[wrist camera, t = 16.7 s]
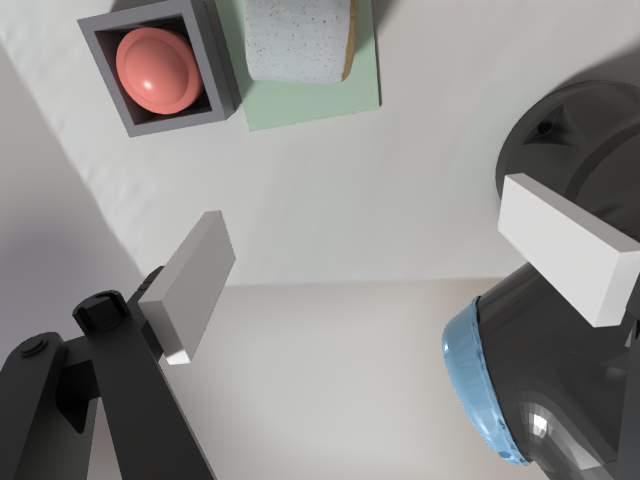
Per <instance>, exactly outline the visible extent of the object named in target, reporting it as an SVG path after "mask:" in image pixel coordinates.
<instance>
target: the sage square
mask: <svg viewBox="0 0 640 480" xmlns="http://www.w3.org/2000/svg"><path fill="white" fill-rule="evenodd" d="M215 3H216V7H217V11H218V15H219V18H220V22H221V26H222V29H223V33H224V37H225V41H226V44H227V48H228V52H229V55H230V59H231V63H232V67H233V70H234V74H235V78H236V82H237V85H238V89H239V93H240V96H241V100H242V104H243V108H244V111H245V115H246V119H247V122H248V126H249V130H250V132H251V131H257V130H262V129H268V128H274V127H279V126H285V125H290V124H296V123H301V122H307V121H312V120H318V119H324V118H329V117H335V116H340V115H346V114H351V113H357V112H363V111H368V110H374V109H379V95H378V82H377V69H376V55H375V42H374V29H373V15H372V2H371V0H359V22H358V34H357V41H356V47H355V54H354V59H353V64H352V68H351V71H350V74H349V76H348V77H347V78H346V79H345V80H344V81H342V82H340V83H332V84H313V83H299V82H278V81H263V80H253V79H252V78H251V76H250V74H249V71H248V65H247V60H246V48H245V24H244V0H215Z"/></svg>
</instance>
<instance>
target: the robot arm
mask: <svg viewBox="0 0 640 480" xmlns="http://www.w3.org/2000/svg"><path fill="white" fill-rule="evenodd" d="M496 187H497V191H498V194H499V196H500V198H501V200H502V201H501V209H500V216H499V223H498V230H499V231H500V232H501V234H502V235H503V236H504V237H505V238H506V239H507V240H508V241H509V242H510V243H511V244H512V245H513V246H514V247H515V248H516V249H517V250H518V251H519V252H520V253H521V254H522V255H523V256H524V257H525V258H526V259H527V260H528V261H529V262H527V263H526V264H525V265H523V266H522V267H520V268H519V269H518V270H516V271H515V272H514V273H512V274H511V275H509V276H508V277H507V278H505V279H504V280H503V281H501V282H500V283H498V284H497V285H496V286H494V287H493V288H491V289H490V290H489V291H487V292H486V293H485V294H483V295H482V296H477V297H475V298H474V299H473V300H472V303H471V304H470V305H469V306H467V307H466V308H465V309H464V310H463V311H461V312H460V313H459V314H458V315H456V316H455V317H454V318H453V319H451V320H450V321H449V323H448V324H447V325H446V327H445V329H444V332H443V337H442V350H443V355H444V359H445V364H446V368H447V371H448V374H449V377H450V380H451V382H452V384H453V387H454V389H455V391H456V393H457V396H458V398H459V400H460V402H461V404H462V406H463V407H464V409H465V411H466V413H467V415H468V416H469V418H470V419H471V421H472V423H473V424H474V426H475V428H476V429H477V430H478V432H479V433H480V435H481V436H482V437H483V439H484V440H485V441H486V442H487V444H488V445H489V446H490V447H491V448H492V449H493V450H494V451H497V452H498V453H499V455H500V457H501V458H502V459H504V460H505V461H507V462H508V463H510V464H513V465H520V464H522V465H525V466H527V465H529V464H531V462H533V460H534V461H535V462H537V464H538V465H539V466H540V467H541V469H542V470H543V471H544V473H545V474H546V475H547V477H548V478H549V479H550V480H640V88H639V87H636V86H634V85H630V84H626V83H619V82H611V81H600V80H596V81H586V82H581V83H577V84H574V85H571V86H568V87H565V88H563V89H561V90H559V91H557V92H555V93H553V94H551V95H549V96H548V97H546V98H545V99H543V100H542V101H540V102H539V103H538V104H536V105H535V106H534V107H533V108H532V109H530V110H529V111H528V112H527V113H526V114H525V115H524V116H523V117H522V118H521V120H520V121H519V122H518V123H517V124H516V126H515V127H514V128H513V130H512V131H511V132H510V134H509V136H508V137H507V139H506V141H505V143H504V145H503V147H502V149H501V152H500V155H499V158H498V162H497V166H496ZM235 259H236V258H235V255H234V251H233V248H232V245H231V242H230V238H229V235H228V232H227V229H226V225H225V222H224V219H223V216H222V212H221V210H218V211H210V212H205V213H204V214H203V216H202V217H201V218H200V220H199V221H198V223H197V224H196V225H195V227H194V228H193V229H192V231H191V232H190V233H189V235H188V236H187V237H186V239H185V240H184V241H183V243H182V244H181V245H180V247H179V248H178V249H177V251H176V252H175V253H174V255H173V256H172V257H171V259H170V260H169V261H168V263H167V264H166V265H165V266H160V267H158V268H157V269H156V270H154V271H153V272H152V273H150V274H149V275H148V277H147V278H146V279H145V280H144V282H143V284H141V285H140V287H139V288H138V289H137V291H136V292H135V293H134V294H133V296H132V297H131V298H130V299H129V301H128V302H127V303H126V302H125V301H124V298H123V297H122V295H121V293H120V292H118V291H115V290H109V291H103V292H100V293H97V294H95V295H93V296H91V297H89V298H87V299H85V300H84V301H82V302H81V303H80V304H79V305H77V307H76V308H75V309H74V310H73V314H72V316H73V317H74V319H75V320H76V322H77V323H78V325H79V326H80V328H81V329H82V331H83V332H84V334H85V336H81V337H78V338H75V339H72V340H68V341H65V342H64V341H63V339H62V338H61V336H60V335H59V334H58V333H56V332H46V333H43V334H39V335H37V336H34V337H31V338H29V339H27V340H26V341H24V342H22V343H21V344H20V345H19V346H18V347H16V348H15V349H14V350H13V351H12V352H11V354H10V355H9V356H8V358H7V359H6V362H5V364H4V366H3V368H2V370H1V372H0V480H86V479H87V473H88V465H89V459H90V451H91V445H92V437H93V430H94V424H95V417H96V410H97V402H98V397H101V398H102V402H103V405H104V409H105V413H106V417H107V421H108V425H109V429H110V433H111V436H112V440H113V445H114V449H115V452H116V456H117V460H118V464H119V468H120V472H121V476H122V480H217V478H216V476H215V474H214V472H213V470H212V468H211V466H210V464H209V462H208V460H207V458H206V456H205V454H204V452H203V450H202V448H201V446H200V444H199V442H198V440H197V438H196V436H195V434H194V432H193V431H192V428H191V427H190V425H189V423H188V421H187V419H186V417H185V415H184V413H183V411H182V409H181V407H180V405H179V403H178V401H177V399H176V397H175V395H174V393H173V391H172V389H171V387H170V385H169V383H168V381H167V379H166V377H165V375H164V373H163V371H162V369H161V367H160V365H159V364H158V361H159V359H160V358H161V356H162V354H163V353H164V355H165V357H166V359H167V361H168V363H169V364H182V363H191V361H192V358H193V356H194V354H195V352H196V349H197V347H198V345H199V342H200V340H201V338H202V336H203V333H204V331H205V329H206V326H207V324H208V322H209V319H210V317H211V315H212V312H213V310H214V308H215V305H216V303H217V301H218V298H219V296H220V294H221V291H222V289H223V287H224V285H225V282H226V280H227V278H228V275H229V273H230V271H231V268H232V266H233V264H234V261H235Z"/></svg>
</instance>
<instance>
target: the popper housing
mask: <svg viewBox="0 0 640 480" xmlns="http://www.w3.org/2000/svg"><path fill="white" fill-rule="evenodd" d="M179 20H184V21H185V25H186V28H187V31H188V34H189V37H190V40H191V44H192V47H193V50H194V53H195V56H196V60H197V63H198V66H199V69H200V72H201V75H202V79H203V82H204V85H205V88H206V91H207V94H208V98H209V101H210V104H211V107H206V108H200V109H195V110H190V111H184V112H179V113H174V114H168V115H163V116H157V117H153V114H152V112H151V111H150V110H147V109H146V108H144V107H142V106H141V105H139V104H138V103H137V102H136V101H135V100H133V98H132V97H131V96H130V95H129V94H128V93H127V91H126V90H125V88H124V87H123V85H122V83H121V81H120V78H119V75H118V71H117V66H116V56H117V50H118V47H119V45H120V43H121V41H122V37H121V35H120V33H121V32H126V31H131V30H135V29H139V28H145V27H150V26H155V25H160V24H164V23H169V22H174V21H179ZM77 22H78V24H79V26H80V28H81V31H82V33H83V35H84V37H85V40H86V42H87V44H88V46H89V48H90V51H91V53H92V55H93V57H94V60H95V62H96V64H97V66H98V68H99V71H100V73H101V75H102V77H103V79H104V82H105V84H106V86H107V88H108V91H109V93H110V95H111V97H112V99H113V102H114V104H115V106H116V108H117V110H118V113H119V115H120V117H121V119H122V122H123V124H124V126H125V128H126V130H127V133H128V135H129V137H136V136H141V135H146V134H152V133H157V132H163V131H168V130H174V129H179V128H185V127H190V126H196V125H201V124H206V123H212V122H217V121H223V120H226V119H228V118H229V117H230V116H231V115H232V114H234V113H235V109H234V106H233V102H232V98H231V95H230V91H229V88H228V84H227V81H226V77H225V74H224V70H223V67H222V63H221V60H220V56H219V52H218V49H217V45H216V42H215V38H214V35H213V31H212V28H211V24H210V21H209V17H208V14H207V10H206V6H205V3H204V2H203V1H201V0H167V1H162V2H158V3H153V4H148V5H144V6H139V7H134V8H130V9H125V10H121V11H116V12H111V13H107V14H102V15H97V16H93V17H88V18H83V19H79V20H77Z"/></svg>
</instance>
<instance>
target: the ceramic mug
mask: <svg viewBox="0 0 640 480" xmlns="http://www.w3.org/2000/svg"><path fill="white" fill-rule="evenodd" d="M358 22H359V0H244V24H245V48H246V60H247V65H248V71H249V74H250V76H251V78H252V79H253V80H263V81H278V82H299V83H313V84H332V83H340V82H342V81H344V80H345V79H346V78H347V77H348V76H349V74H350V71H351V68H352V64H353V59H354V54H355V47H356V41H357V34H358Z"/></svg>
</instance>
